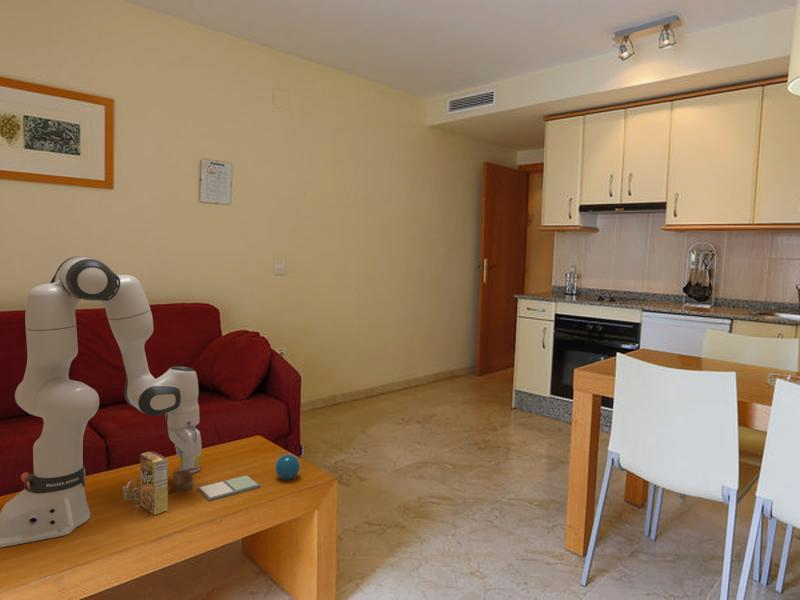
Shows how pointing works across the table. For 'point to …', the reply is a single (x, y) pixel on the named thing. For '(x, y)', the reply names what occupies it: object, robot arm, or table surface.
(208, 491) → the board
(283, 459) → the ball
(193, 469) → the supplement bottle
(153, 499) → the candy box
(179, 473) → the walnut token
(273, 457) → the table surface
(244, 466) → the table surface
